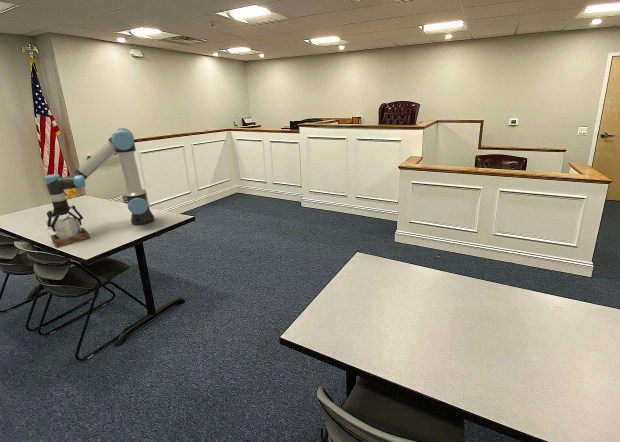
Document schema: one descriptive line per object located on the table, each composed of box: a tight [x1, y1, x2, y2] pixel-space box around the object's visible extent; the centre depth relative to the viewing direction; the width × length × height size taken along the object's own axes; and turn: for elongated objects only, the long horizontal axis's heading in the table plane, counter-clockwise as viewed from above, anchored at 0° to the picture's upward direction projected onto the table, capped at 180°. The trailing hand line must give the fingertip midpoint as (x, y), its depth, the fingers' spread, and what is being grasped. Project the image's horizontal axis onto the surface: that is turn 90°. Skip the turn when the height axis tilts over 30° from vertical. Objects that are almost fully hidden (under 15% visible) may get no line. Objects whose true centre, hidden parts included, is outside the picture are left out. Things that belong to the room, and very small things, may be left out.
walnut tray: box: [50, 227, 91, 249], centre depth 220 cm, size 18×15×4 cm
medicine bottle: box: [44, 211, 63, 230], centre depth 243 cm, size 7×7×12 cm
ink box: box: [55, 214, 80, 239], centre depth 217 cm, size 9×8×13 cm
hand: (69, 233), depth 219 cm, fingers closed on ink box, 11 cm apart
